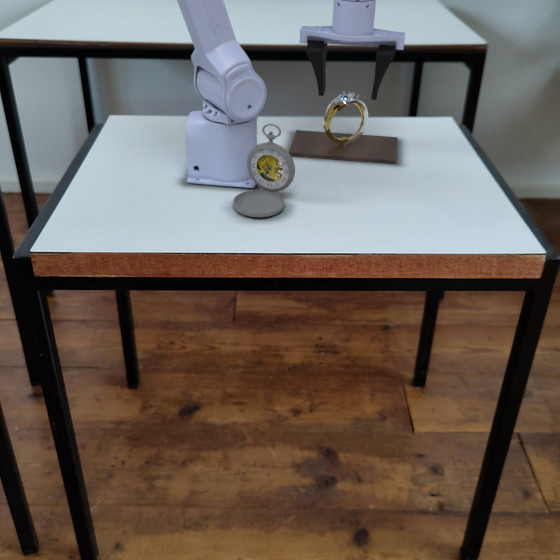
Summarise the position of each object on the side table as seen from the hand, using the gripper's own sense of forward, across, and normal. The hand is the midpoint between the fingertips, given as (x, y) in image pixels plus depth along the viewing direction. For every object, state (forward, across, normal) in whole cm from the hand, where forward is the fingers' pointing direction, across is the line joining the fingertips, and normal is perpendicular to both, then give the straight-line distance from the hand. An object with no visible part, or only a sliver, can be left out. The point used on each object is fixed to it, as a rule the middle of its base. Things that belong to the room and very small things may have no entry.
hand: (347, 95), depth 101 cm
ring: (+8, 0, 0) cm, 8 cm away
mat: (+8, 0, 0) cm, 8 cm away
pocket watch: (+8, +8, +21) cm, 24 cm away
